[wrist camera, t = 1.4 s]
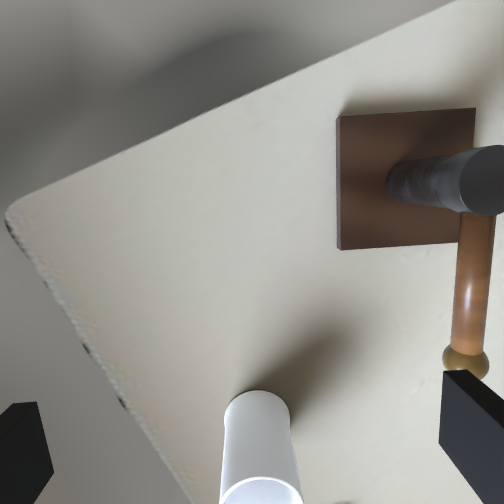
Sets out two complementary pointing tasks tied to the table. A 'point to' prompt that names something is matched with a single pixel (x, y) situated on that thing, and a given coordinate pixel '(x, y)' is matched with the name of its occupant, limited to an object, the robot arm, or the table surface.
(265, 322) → the table surface
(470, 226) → the handle
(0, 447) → the robot arm
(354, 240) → the valve stand
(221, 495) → the mug
